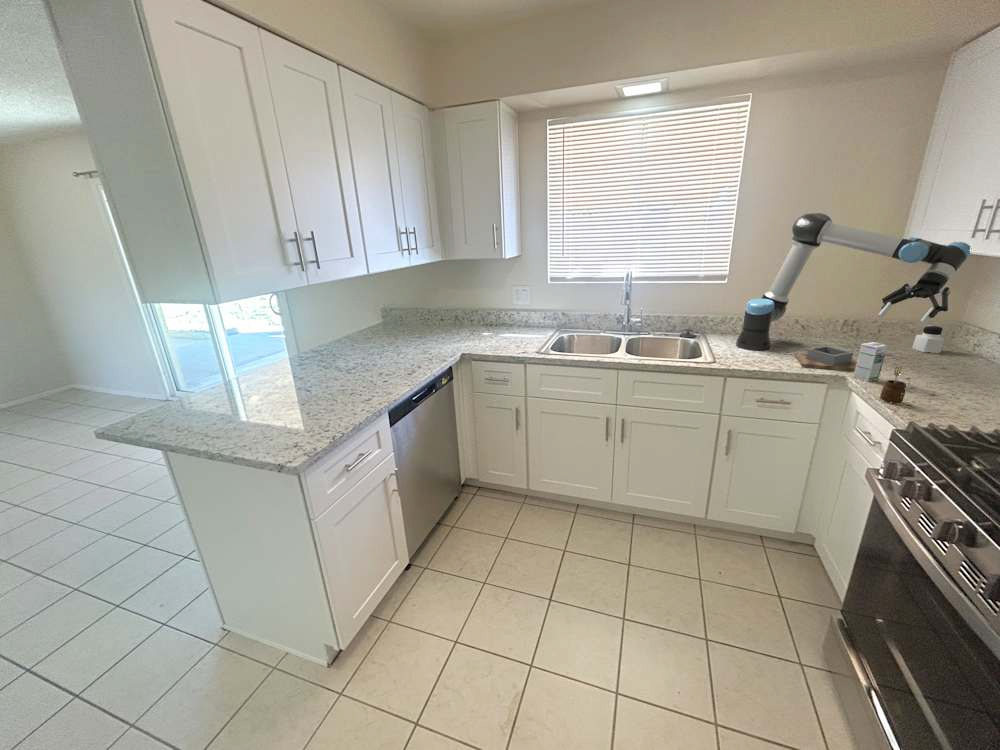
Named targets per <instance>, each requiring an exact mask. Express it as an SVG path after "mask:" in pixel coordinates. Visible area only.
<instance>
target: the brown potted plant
mask: <svg viewBox="0 0 1000 750" xmlns="http://www.w3.org/2000/svg"><path fill="white" fill-rule="evenodd" d="M902 367H903V366H899V365H898V366H896V365H895V369H894V371H893V372H894V373H893V375H894V377H893V379H889V380H886V381H885V384H884V386H883V387H882V389H881V393H880V396H879V399H880V400H881V399H882V400H884V401H887V402H892V403H900V404H902V403H903V401H904V398H905V395H906V391H907V390H906V387H907V384H906V383H905V382H904V381H902V380H904V377H905V376H904V375H905V374H903V373H901V371H902V369H903V368H902ZM901 375H902V376H901ZM899 376H900V377H899ZM898 377H899V378H898ZM882 400H881V401H882ZM884 401H883V402H884ZM887 402H886V403H887ZM901 402H902V403H901Z"/></svg>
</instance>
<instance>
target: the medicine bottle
mask: <svg viewBox="0 0 1000 750" xmlns="http://www.w3.org/2000/svg"><path fill="white" fill-rule="evenodd" d="M943 330H944V329H943V327H941V326H937V325H924V328H923V330H922V334H915V335H916V336H915V338H914V341H913V344H912V347H911V348H914V349H916V350H919V351H922V352H932V353H931V354H940V353H941V352H942V349H943V346H944V343H945V341H946V339H945V338H944V337H941V336H942V332H943ZM914 349H913V350H914ZM916 350H915V351H916ZM919 351H918V352H919ZM922 352H921V353H922Z"/></svg>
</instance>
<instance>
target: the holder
mask: <svg viewBox="0 0 1000 750" xmlns="http://www.w3.org/2000/svg"><path fill="white" fill-rule="evenodd" d="M806 354H807V355H806V359H809V360H813V361H816V362H820V363H823V364H827V365H831V366H835V365H840V364H845V363H850V362H851V359H852V357H853V355H854V352H853V351H848V350H844V349H840V348H837V347H832V346H828V345H824V346H823V345H822V346H818V347H813V348H812V347H811V348H808V349H807V352H806Z"/></svg>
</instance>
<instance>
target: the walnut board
mask: <svg viewBox="0 0 1000 750" xmlns="http://www.w3.org/2000/svg"><path fill="white" fill-rule="evenodd" d="M806 355H807V353H802V352H801V353H799V352H794V353H793V357H794V356H795V357H794V358H795V359H797V360H798V361H797V360H796V361H797V363H798V362H799V363H800V364H799V363H798V364H799V366H800V365H801V366H803V367H802V368H809V367H812V368H811V369H820V368H822V370H831V369H835V370H834V371H842V370H845V371H844V372H853V371H855V368H856V364H857V360H856V359H855V358H854V357H853V356H852V359H851V362H850V363H845V364H840V365H835V366H831V365H827V364H823V363H820V362H816V361H813V360H809V359H806ZM801 366H800V367H801Z"/></svg>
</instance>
